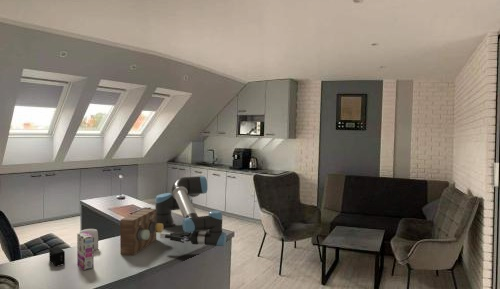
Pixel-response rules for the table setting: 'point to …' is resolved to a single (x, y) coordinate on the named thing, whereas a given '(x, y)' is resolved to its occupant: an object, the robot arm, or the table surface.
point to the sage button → (145, 234)
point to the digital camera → (57, 256)
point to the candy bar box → (85, 250)
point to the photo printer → (93, 233)
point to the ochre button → (159, 227)
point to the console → (137, 231)
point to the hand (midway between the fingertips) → (160, 235)
